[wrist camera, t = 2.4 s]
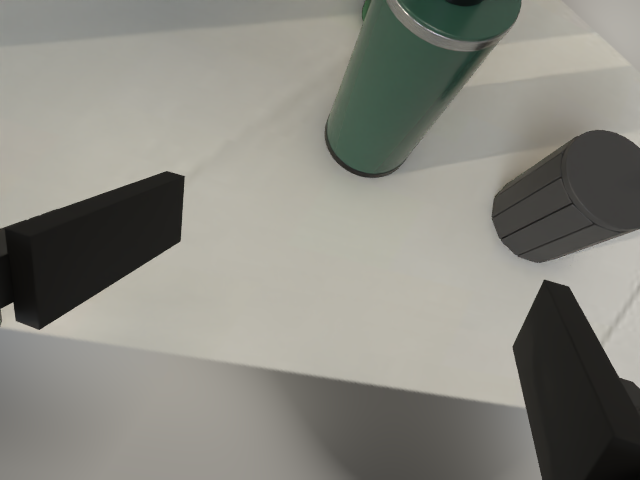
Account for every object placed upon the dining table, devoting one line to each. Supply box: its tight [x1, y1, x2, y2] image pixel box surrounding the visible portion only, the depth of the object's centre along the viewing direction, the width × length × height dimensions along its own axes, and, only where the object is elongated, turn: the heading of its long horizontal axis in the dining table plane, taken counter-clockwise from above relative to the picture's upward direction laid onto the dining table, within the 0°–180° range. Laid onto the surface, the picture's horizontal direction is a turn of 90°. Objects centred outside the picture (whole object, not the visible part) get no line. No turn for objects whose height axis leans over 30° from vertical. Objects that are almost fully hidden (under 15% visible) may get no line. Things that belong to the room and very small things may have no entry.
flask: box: [325, 0, 521, 178], centre depth 31 cm, size 8×8×22 cm
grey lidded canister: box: [492, 130, 640, 263], centre depth 38 cm, size 8×8×10 cm
